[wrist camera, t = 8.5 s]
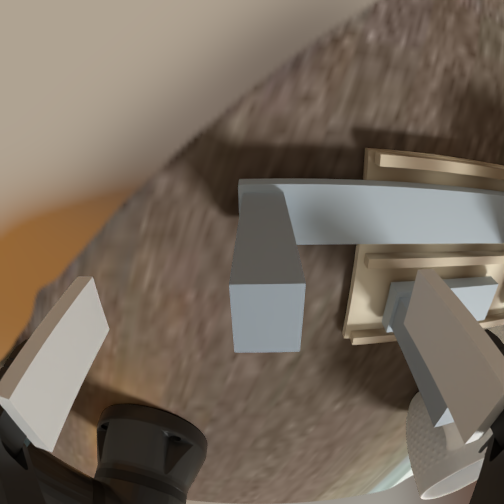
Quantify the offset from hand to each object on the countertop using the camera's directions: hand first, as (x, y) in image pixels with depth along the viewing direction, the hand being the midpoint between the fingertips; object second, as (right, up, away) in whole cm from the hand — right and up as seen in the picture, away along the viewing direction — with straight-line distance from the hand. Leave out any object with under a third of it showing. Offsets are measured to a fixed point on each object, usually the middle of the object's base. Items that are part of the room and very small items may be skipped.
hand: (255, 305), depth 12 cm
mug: (+22, -15, +20) cm, 33 cm away
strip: (+14, +5, +8) cm, 17 cm away
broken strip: (+16, -2, +12) cm, 20 cm away
